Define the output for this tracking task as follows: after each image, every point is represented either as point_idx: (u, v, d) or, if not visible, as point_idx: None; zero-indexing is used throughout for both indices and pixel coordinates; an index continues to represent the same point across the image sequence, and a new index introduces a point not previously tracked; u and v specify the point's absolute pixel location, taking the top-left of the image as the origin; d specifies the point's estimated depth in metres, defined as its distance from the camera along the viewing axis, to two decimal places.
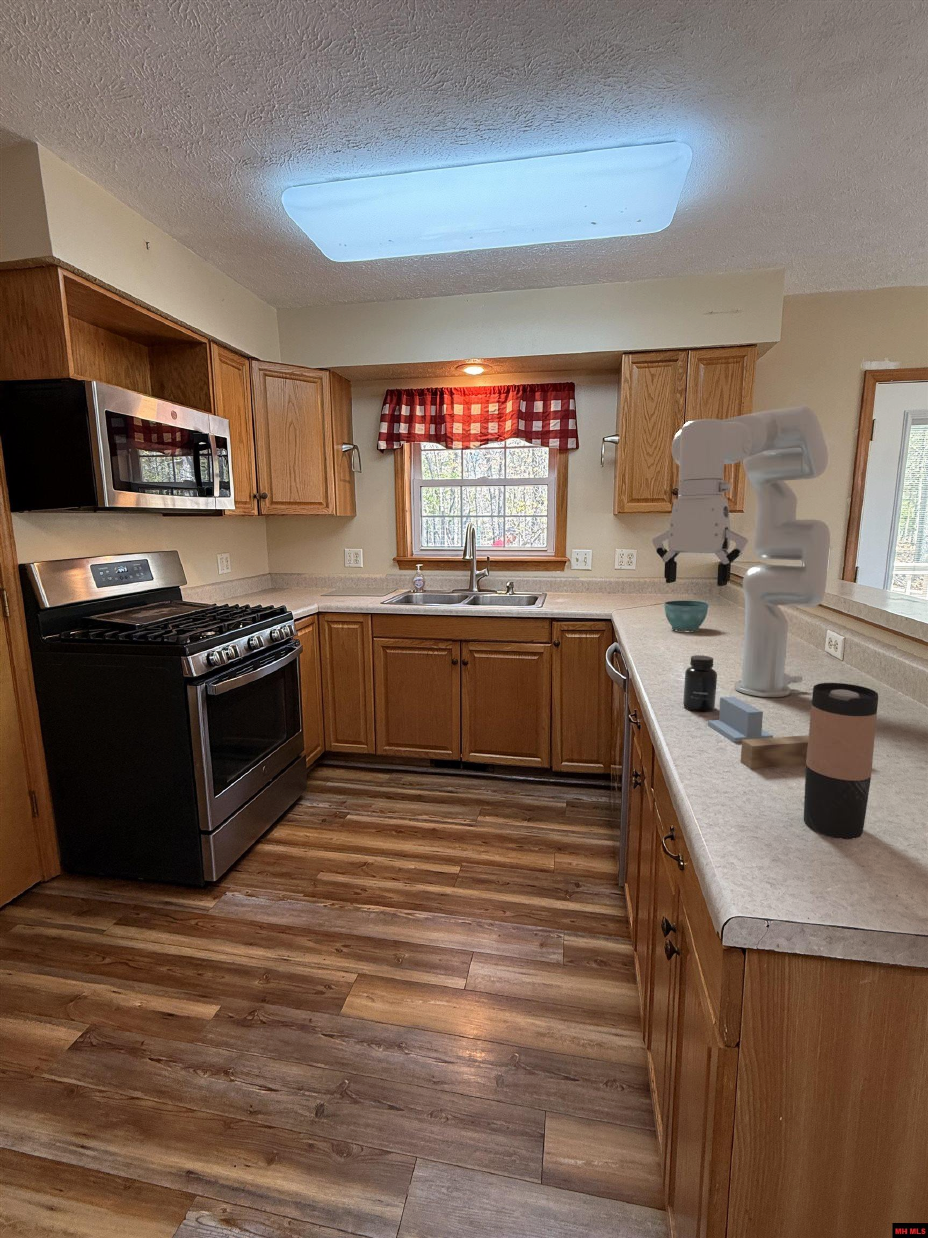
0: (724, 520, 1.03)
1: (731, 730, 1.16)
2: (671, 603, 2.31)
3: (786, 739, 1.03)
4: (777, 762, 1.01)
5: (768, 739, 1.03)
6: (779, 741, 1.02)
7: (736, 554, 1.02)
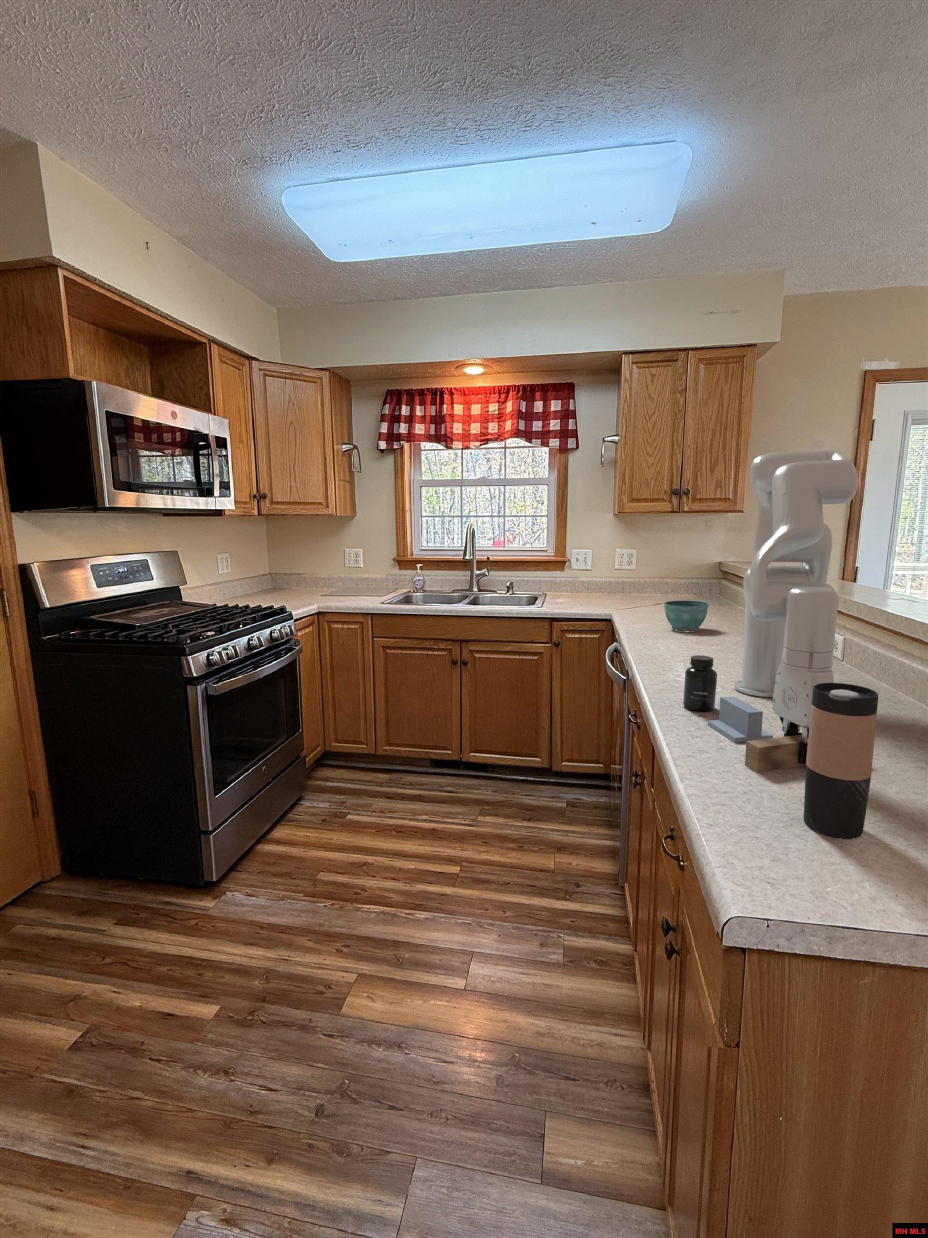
0: None
1: (731, 730, 1.16)
2: (671, 603, 2.31)
3: (788, 739, 1.02)
4: (781, 763, 1.01)
5: (771, 739, 1.02)
6: (782, 741, 1.01)
7: None
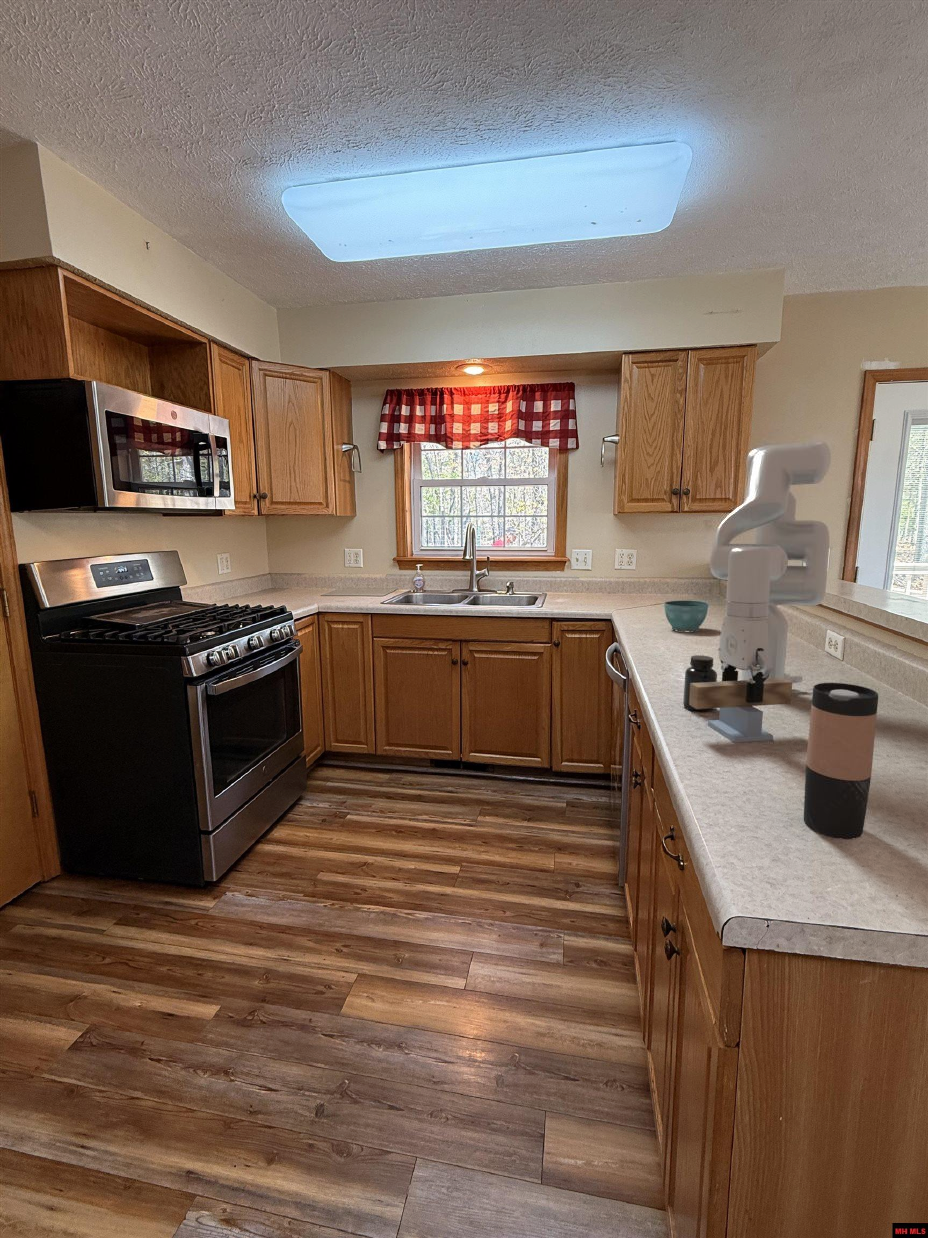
0: None
1: (731, 730, 1.16)
2: (671, 603, 2.31)
3: (729, 682, 1.16)
4: (720, 702, 1.15)
5: (713, 682, 1.17)
6: (722, 684, 1.16)
7: None
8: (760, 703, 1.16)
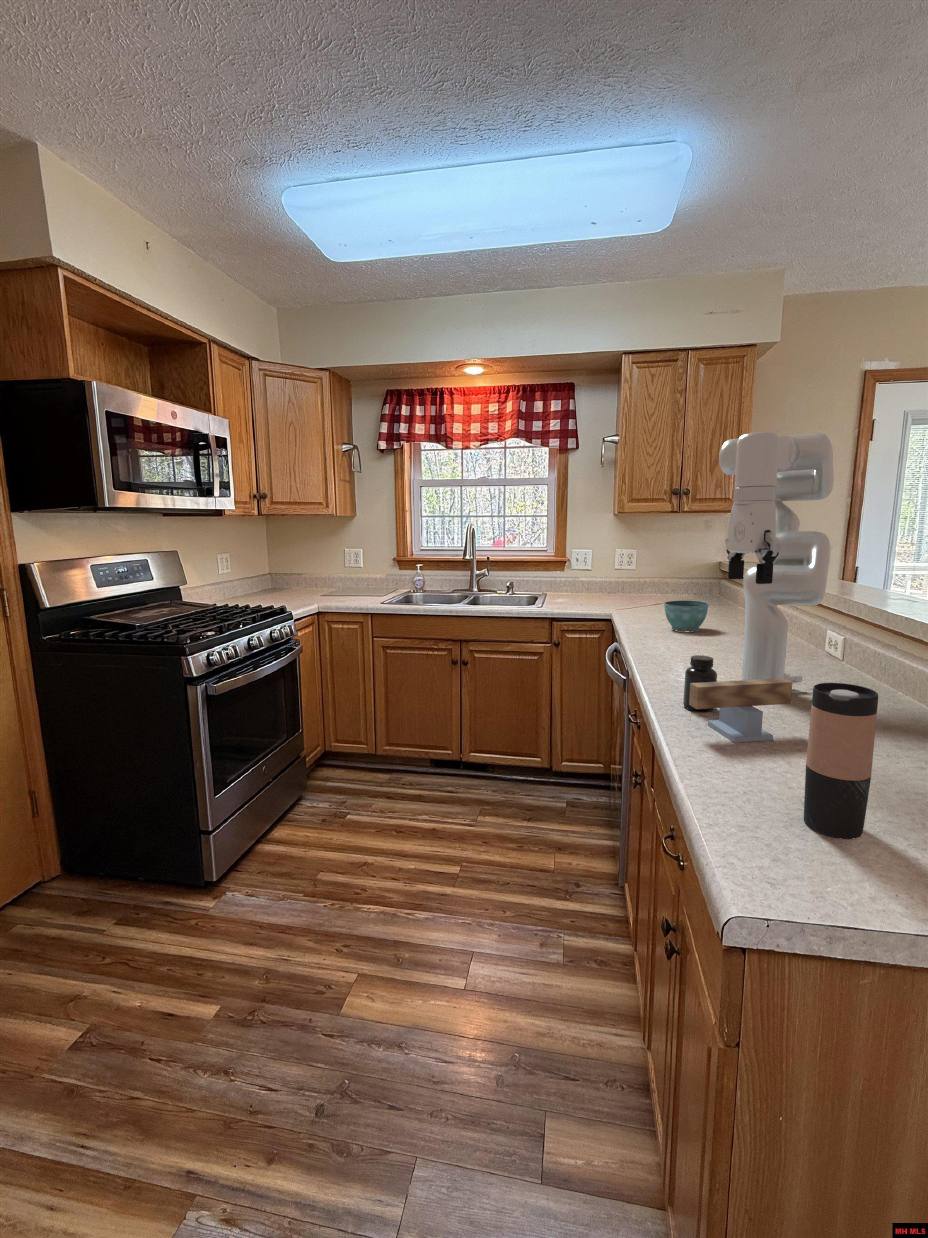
0: None
1: (731, 730, 1.16)
2: (671, 603, 2.31)
3: (729, 682, 1.16)
4: (720, 702, 1.15)
5: (713, 682, 1.17)
6: (722, 684, 1.16)
7: None
8: (760, 703, 1.16)
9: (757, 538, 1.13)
